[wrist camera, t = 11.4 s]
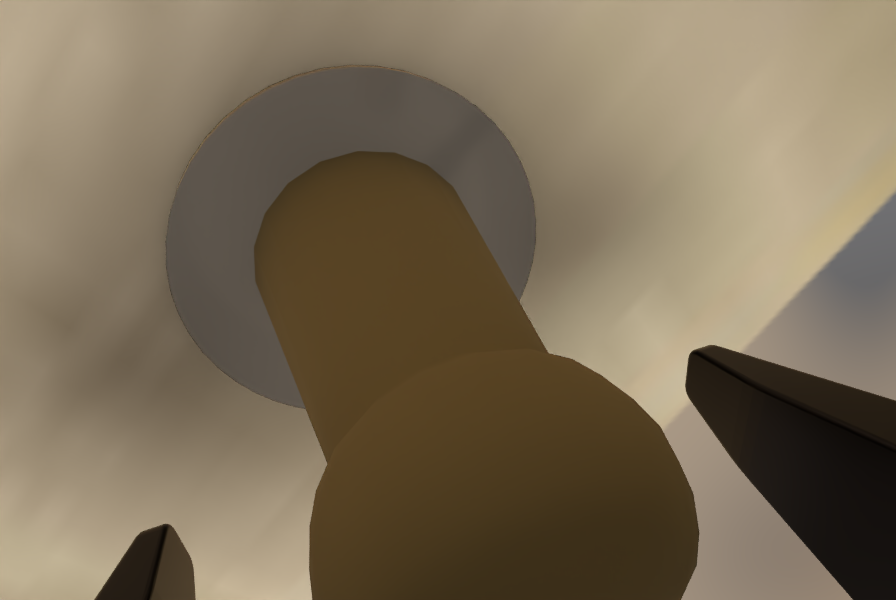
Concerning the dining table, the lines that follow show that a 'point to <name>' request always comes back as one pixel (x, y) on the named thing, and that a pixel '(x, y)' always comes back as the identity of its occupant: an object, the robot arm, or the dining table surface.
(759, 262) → the dining table surface
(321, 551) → the brown rounded piece
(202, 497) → the dining table surface
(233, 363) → the coaster empty
